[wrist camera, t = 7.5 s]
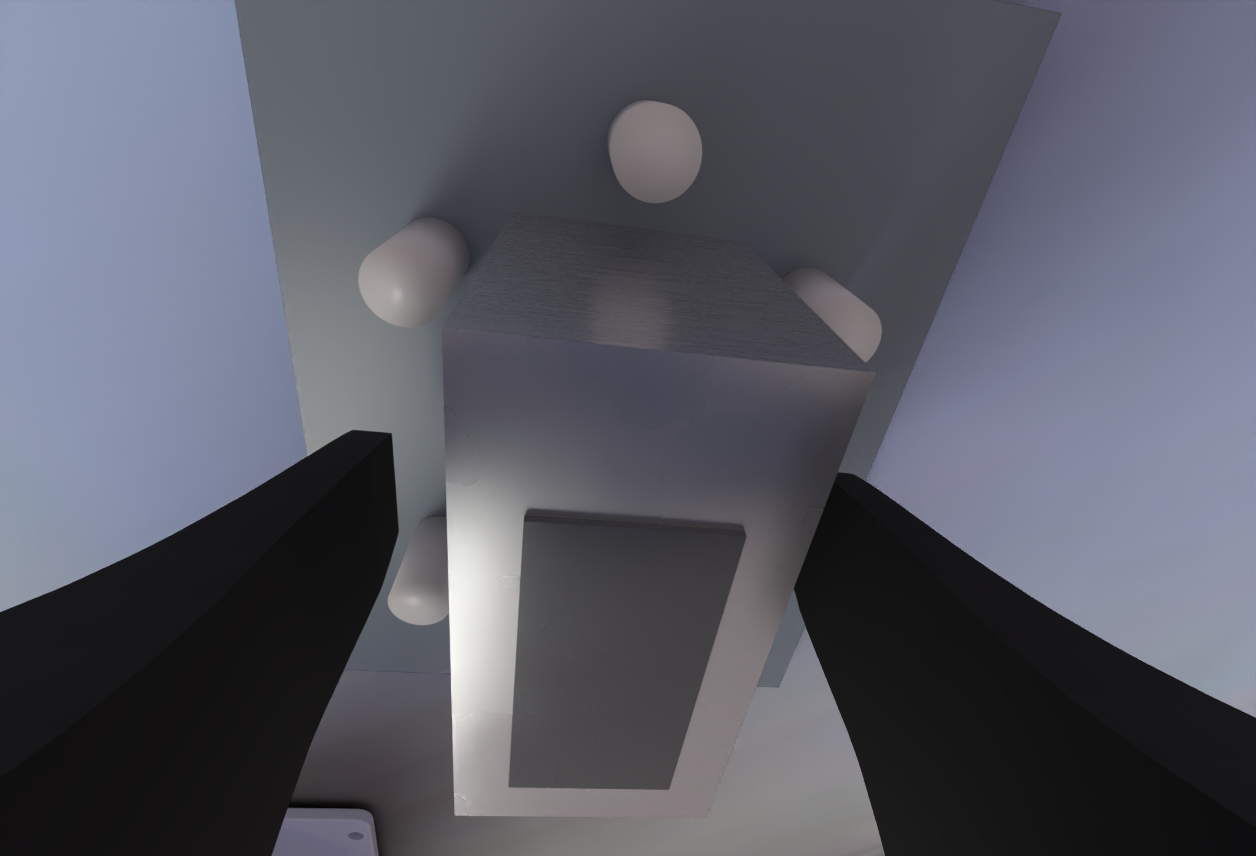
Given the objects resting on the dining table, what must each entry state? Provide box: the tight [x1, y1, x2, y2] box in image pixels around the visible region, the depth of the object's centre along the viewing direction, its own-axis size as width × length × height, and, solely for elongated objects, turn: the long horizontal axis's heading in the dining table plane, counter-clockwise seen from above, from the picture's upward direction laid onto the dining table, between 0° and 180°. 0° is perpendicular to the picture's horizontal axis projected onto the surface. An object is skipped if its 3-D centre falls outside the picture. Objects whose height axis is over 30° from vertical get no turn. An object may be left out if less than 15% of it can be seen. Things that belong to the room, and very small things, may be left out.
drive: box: [442, 212, 875, 818], centre depth 10 cm, size 8×4×6 cm, turn 172°
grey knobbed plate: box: [235, 0, 1061, 688], centre depth 12 cm, size 16×12×3 cm
